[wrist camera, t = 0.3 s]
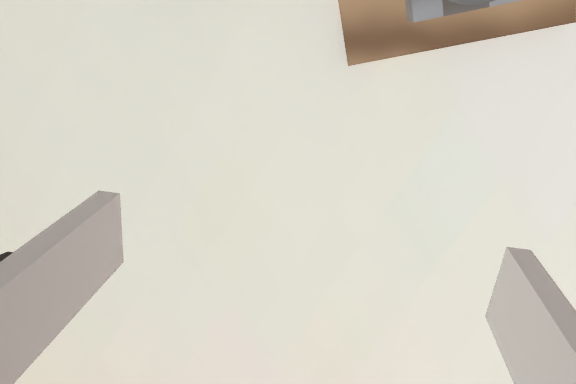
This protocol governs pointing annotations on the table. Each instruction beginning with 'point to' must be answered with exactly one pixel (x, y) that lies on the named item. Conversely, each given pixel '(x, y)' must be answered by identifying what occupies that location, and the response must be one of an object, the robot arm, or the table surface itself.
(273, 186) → the table surface
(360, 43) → the board
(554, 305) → the robot arm
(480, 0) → the wheel
